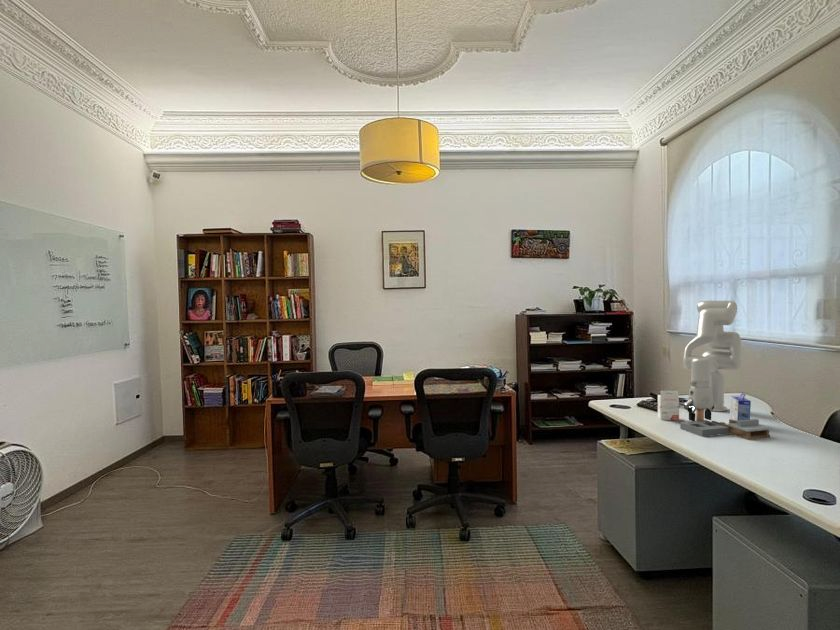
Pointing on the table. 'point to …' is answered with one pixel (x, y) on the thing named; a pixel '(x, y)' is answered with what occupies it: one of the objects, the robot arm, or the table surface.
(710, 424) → the socket board
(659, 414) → the ink cartridge box
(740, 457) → the table surface
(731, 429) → the box
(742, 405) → the ink cartridge box
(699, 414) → the peg
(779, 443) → the table surface
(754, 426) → the lid
